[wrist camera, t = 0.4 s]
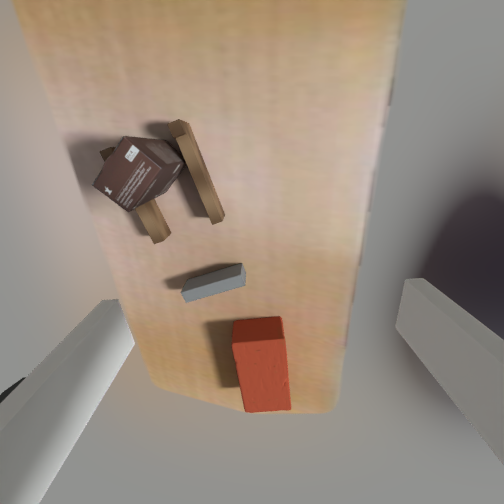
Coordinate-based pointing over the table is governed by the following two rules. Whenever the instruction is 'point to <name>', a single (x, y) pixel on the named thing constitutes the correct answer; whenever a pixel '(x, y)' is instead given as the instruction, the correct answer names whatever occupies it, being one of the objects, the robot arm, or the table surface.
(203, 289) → the end stop
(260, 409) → the brick
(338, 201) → the table surface
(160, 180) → the box
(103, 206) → the table surface
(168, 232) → the brown piece
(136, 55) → the table surface
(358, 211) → the table surface
